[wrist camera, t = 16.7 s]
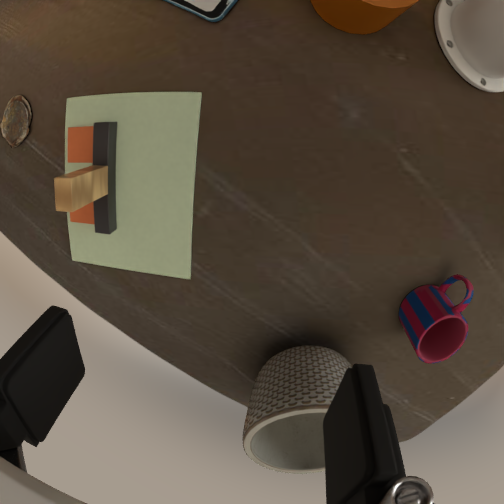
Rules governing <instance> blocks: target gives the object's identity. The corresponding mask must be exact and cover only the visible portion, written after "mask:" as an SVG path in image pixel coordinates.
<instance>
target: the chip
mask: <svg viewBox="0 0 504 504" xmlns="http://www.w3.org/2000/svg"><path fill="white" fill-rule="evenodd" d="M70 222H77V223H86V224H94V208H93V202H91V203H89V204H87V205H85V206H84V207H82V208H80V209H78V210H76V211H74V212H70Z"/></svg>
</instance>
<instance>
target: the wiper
mask: <svg viewBox="0 0 504 504" xmlns="http://www.w3.org/2000/svg"><path fill="white" fill-rule="evenodd" d="M116 140H117V122H95V123H94V126H93V165H92V166H89V167H86V168H83V169H79V170H76V171H73V172H70V173H67V174H64V175H61V176H58V177H56V178H54V184H55V201H56V211H64V212H74V211H76V210H78V209H80V208H82V207H84V206H85V205H87V204H89V203H91V202H93V208H94V225H95V233H101V234H109V235H110V234H111V233H112V232H114V231H115V230H116V229H117V222H116Z"/></svg>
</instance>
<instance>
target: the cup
mask: <svg viewBox="0 0 504 504" xmlns="http://www.w3.org/2000/svg"><path fill="white" fill-rule="evenodd" d="M458 280H462V281H464V283H465V284H466V288H467V293H466V296H465V298H464V300H463V301H462V302H461V303H460V304H458V305H456V306H454V304H453V303H452V302H451V300H450V299H449V298H448V297H447V295H446V294H445V292H446V290H447V289H448V288H449V286H450V285H452V284H453V283H454V282H456V281H458ZM472 297H473V286H472V284H471V282H470V281H469V280H468V279H467V278H466V277H464V276H462V275H458V274H457V275H453V276H451V277H450V278H448V279H447V280H446V281H445V282H444V283H443V284H442V285H441V286H440V287H437V286H435V285H424V286H421V287H418V288H416V289H414V290H413V291H412V292H410V293H409V294H408V295H407V296H406V298H405V299H404V300H403V302H402V304H401V306H400V310H399V320H400V322H401V324H402V326H403V328H404V330H405V332H406V334H407V336H408V338H409V340H410V342H411V344H412V346H413V348H414V350H415V352H416V354H417V356H418V357H419V359H420V360H421V361H423V362H425V363H438V362H441V361H443V360H446V359H447V358H449V357H451V356H452V355H453V354H455V353H456V352H457V351H458V350H459V349H460V347H461V346H462V345H463V343H464V341H465V339H466V337H467V333H468V324H467V322H466V320H465V319H464V317H463V316H462V314H461V312H462V311H463V310H464V309H465V308H466V307H467V306H468V304H469V303H470V301H471V299H472Z"/></svg>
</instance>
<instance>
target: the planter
mask: <svg viewBox="0 0 504 504" xmlns="http://www.w3.org/2000/svg"><path fill="white" fill-rule="evenodd" d="M347 368H352V365H351V364H350V363H349V361H348V360H347V359H346V358H345V357H343V356H342V355H341V354H339V353H338V352H336V351H334V350H332V349H329V348H326V347H322V346H314V345H305V346H297V347H293V348H290V349H287V350H284V351H282V352H280V353H278V354H276V355H275V356H273V357H272V358H271V359H269V360H268V361H267V362H266V363H265V365H264V366H263V367H262V368H261V370H260V372H259V373H258V375H257V378H256V380H255V383H254V386H253V389H252V393H251V397H250V401H249V405H248V410H247V415H246V420H245V425H244V431H243V447H244V450H245V452H246V454H247V455H248V456H249V457H250V458H251V459H252V460H253V461H254V462H256V463H257V464H259V465H261V466H263V467H266V468H268V469H271V470H275V471H279V472H285V473H297V474H303V473H315V472H322V471H325V454H324V436H323V420H324V417H325V414H326V412H327V410H328V408H329V406H330V404H331V402H332V400H333V398H334V396H335V394H336V392H337V390H338V387H339V385H340V383H341V381H342V379H343V376H344V374H345V372H346V370H347Z"/></svg>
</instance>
